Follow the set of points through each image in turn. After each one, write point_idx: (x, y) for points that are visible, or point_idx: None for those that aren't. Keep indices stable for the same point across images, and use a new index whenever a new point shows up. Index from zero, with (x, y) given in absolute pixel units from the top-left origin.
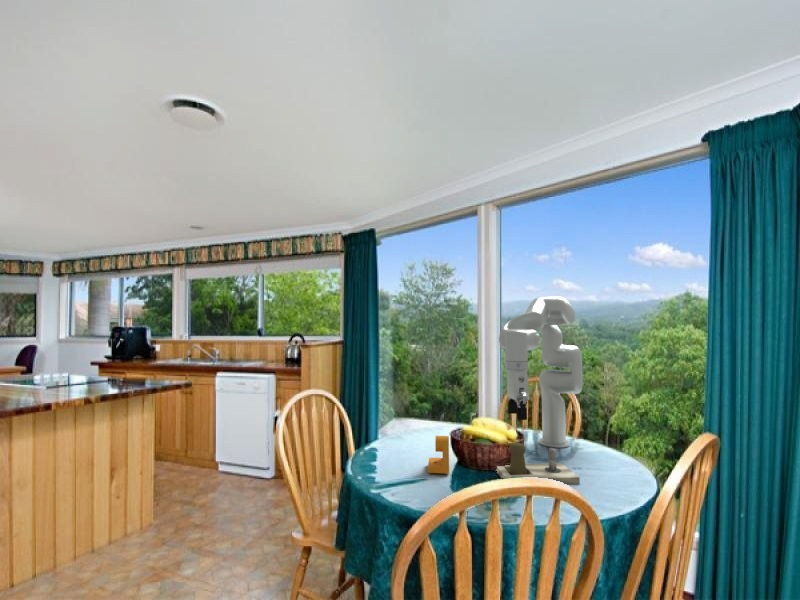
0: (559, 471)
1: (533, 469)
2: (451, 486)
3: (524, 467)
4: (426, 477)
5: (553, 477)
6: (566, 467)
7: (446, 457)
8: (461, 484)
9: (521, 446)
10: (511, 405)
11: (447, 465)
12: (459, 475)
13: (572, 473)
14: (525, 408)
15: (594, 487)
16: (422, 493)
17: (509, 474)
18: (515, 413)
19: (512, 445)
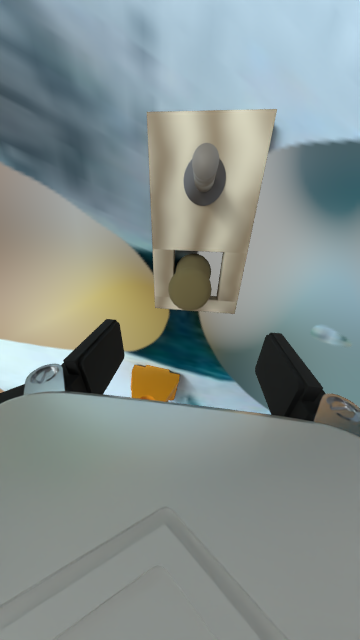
0: (221, 164)
1: (192, 236)
2: (220, 378)
3: (205, 267)
4: (183, 394)
5: (254, 206)
6: (187, 113)
7: (170, 394)
8: (215, 366)
9: (207, 288)
10: (102, 378)
11: (176, 384)
12: (179, 360)
13: (240, 119)
14: (312, 389)
15: (311, 75)
16: (234, 407)
17: (214, 301)
18: (118, 328)
19: (194, 309)
